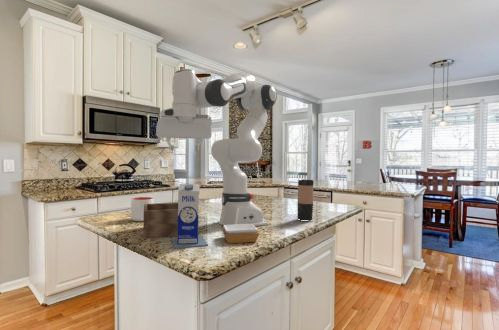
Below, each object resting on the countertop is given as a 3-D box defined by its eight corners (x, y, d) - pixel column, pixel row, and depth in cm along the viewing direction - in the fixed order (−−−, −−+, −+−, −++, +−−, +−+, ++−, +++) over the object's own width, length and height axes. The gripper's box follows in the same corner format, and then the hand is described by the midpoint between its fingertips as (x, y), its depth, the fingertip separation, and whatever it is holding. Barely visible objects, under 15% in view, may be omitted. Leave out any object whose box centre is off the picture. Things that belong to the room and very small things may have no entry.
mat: (201, 237, 106) (201, 235, 106) (207, 245, 96) (207, 244, 96) (171, 239, 102) (171, 237, 102) (174, 248, 92) (174, 247, 92)
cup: (126, 219, 133) (126, 198, 132) (145, 216, 141) (145, 196, 141) (139, 222, 127) (139, 200, 127) (157, 219, 135) (158, 198, 135)
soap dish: (253, 236, 110) (253, 223, 110) (259, 243, 100) (259, 229, 100) (221, 237, 107) (221, 224, 107) (224, 245, 98) (225, 230, 98)
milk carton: (198, 238, 103) (199, 183, 102) (198, 243, 96) (199, 185, 96) (178, 238, 101) (179, 183, 101) (176, 244, 95) (177, 185, 94)
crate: (183, 225, 124) (183, 202, 124) (188, 234, 109) (189, 209, 108) (143, 227, 118) (144, 203, 118) (143, 238, 103) (143, 210, 103)
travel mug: (314, 222, 136) (315, 180, 136) (298, 221, 137) (299, 180, 136) (310, 218, 144) (311, 179, 144) (295, 218, 144) (296, 179, 144)
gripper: (209, 116, 112) (209, 150, 113) (155, 112, 105) (155, 150, 105) (213, 114, 106) (213, 150, 107) (156, 110, 99) (156, 149, 99)
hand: (184, 150), depth 106 cm, fingers open, 8 cm apart
